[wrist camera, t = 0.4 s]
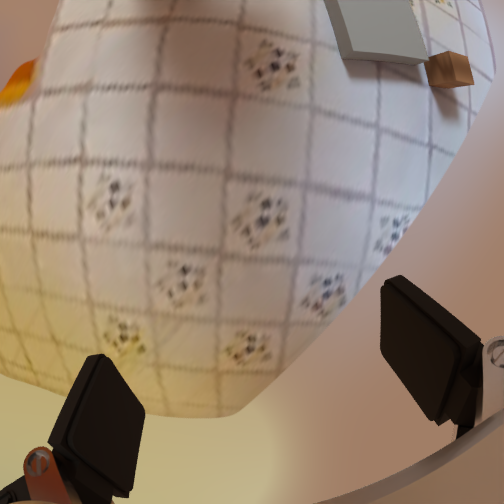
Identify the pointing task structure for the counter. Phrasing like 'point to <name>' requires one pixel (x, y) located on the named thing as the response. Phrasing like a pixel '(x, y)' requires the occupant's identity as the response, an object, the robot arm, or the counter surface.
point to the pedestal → (377, 30)
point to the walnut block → (448, 70)
